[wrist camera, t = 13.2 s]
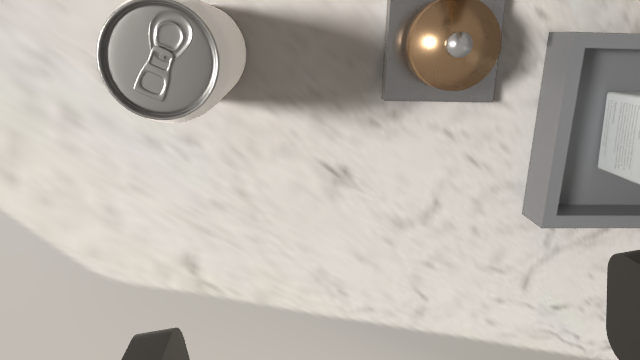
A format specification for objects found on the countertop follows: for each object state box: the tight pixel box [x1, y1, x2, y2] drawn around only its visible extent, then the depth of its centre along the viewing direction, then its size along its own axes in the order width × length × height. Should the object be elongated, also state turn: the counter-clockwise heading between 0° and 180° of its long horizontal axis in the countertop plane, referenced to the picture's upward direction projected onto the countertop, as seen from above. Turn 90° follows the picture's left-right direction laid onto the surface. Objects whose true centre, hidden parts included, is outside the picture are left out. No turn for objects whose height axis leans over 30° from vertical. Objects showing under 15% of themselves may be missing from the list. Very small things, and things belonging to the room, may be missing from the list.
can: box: [97, 0, 246, 123], centre depth 29 cm, size 6×6×12 cm
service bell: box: [382, 0, 505, 102], centre depth 33 cm, size 8×8×4 cm
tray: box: [522, 32, 640, 228], centre depth 37 cm, size 14×14×3 cm
